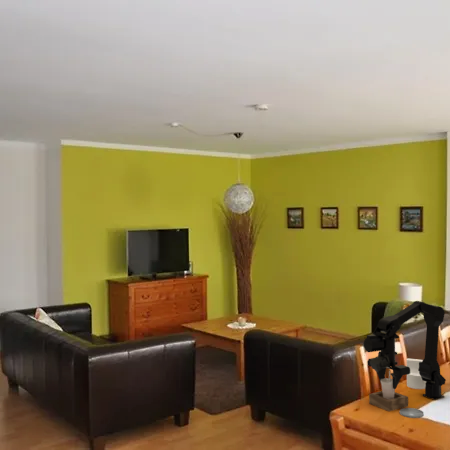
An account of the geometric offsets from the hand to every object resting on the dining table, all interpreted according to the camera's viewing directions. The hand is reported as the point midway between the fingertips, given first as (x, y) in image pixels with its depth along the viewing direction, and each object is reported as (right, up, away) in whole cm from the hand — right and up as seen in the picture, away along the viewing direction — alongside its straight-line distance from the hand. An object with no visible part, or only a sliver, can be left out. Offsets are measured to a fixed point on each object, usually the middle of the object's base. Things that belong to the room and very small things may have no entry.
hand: (388, 386), depth 224 cm
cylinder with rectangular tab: (+21, -7, +24) cm, 33 cm away
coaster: (+6, -8, -10) cm, 14 cm away
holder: (0, -8, 0) cm, 8 cm away
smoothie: (0, -7, 0) cm, 7 cm away
